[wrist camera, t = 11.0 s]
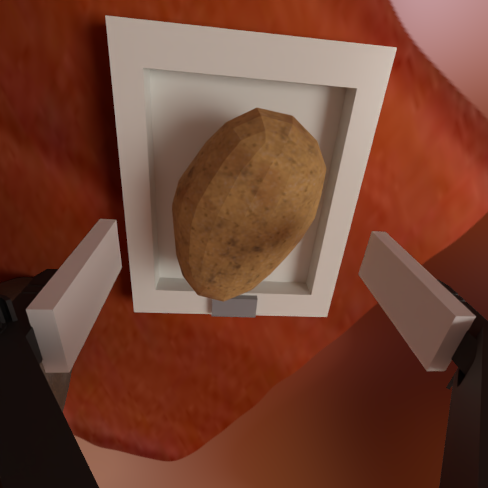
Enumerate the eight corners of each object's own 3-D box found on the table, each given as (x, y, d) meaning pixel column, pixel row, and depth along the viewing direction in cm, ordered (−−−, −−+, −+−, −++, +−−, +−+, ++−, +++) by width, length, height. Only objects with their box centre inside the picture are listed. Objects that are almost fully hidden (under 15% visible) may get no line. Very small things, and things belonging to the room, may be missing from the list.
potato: (156, 242, 27) (133, 298, 20) (218, 78, 22) (216, 75, 15) (255, 278, 30) (266, 339, 22) (334, 138, 24) (381, 160, 17)
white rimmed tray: (117, 22, 20) (101, 13, 18) (379, 51, 22) (401, 46, 19) (140, 295, 30) (132, 316, 28) (319, 300, 32) (328, 321, 29)
